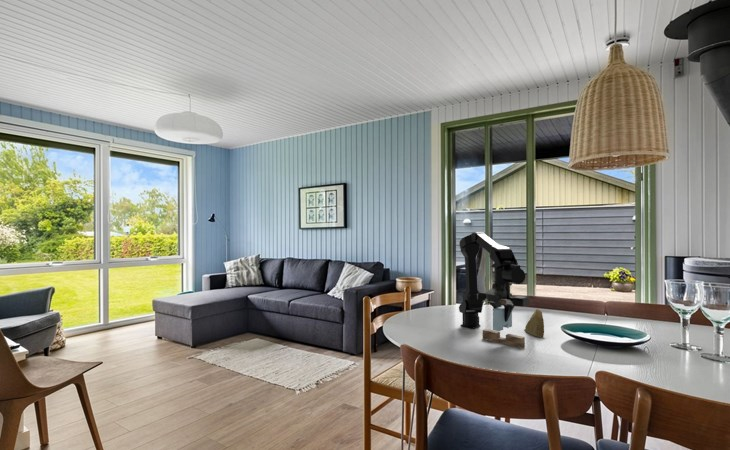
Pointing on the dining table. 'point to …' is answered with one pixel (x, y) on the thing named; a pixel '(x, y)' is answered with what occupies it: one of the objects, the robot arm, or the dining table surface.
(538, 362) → the dining table surface
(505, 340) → the walnut rail
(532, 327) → the rock
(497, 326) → the blue-grey rectangular slab
